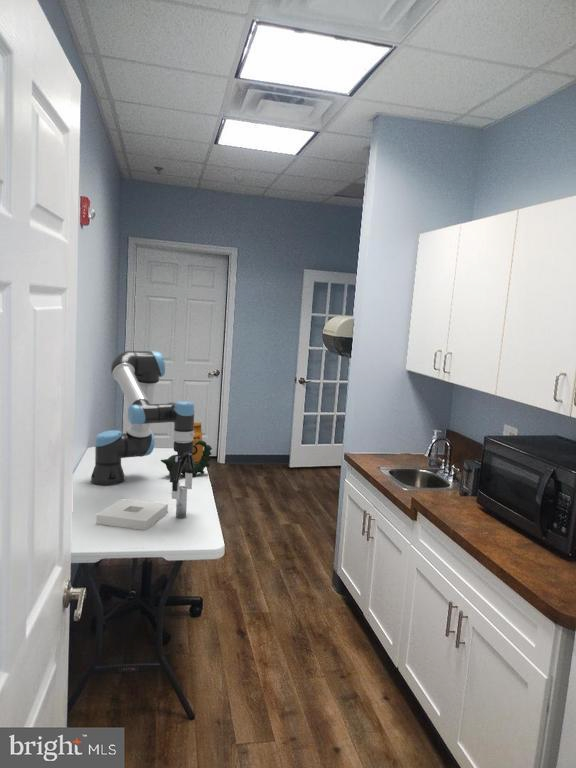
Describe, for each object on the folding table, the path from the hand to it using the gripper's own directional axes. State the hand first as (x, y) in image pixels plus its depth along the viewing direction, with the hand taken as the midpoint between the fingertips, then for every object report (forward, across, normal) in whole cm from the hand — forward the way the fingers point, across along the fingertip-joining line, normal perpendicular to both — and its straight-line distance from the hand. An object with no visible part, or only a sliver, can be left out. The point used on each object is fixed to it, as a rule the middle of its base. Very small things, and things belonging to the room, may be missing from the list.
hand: (182, 493), depth 216 cm
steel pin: (+10, 0, 0) cm, 10 cm away
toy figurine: (+9, +54, +19) cm, 58 cm away
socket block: (+10, -7, +17) cm, 21 cm away
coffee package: (+9, +81, +27) cm, 86 cm away
